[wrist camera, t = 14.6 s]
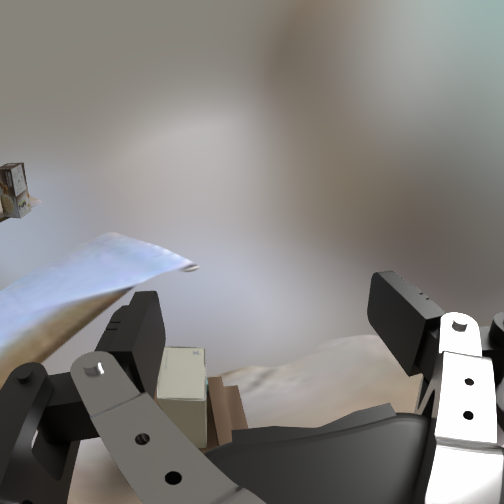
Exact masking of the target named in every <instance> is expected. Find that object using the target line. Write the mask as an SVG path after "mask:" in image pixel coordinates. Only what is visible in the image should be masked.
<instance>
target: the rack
mask: <svg viewBox="0 0 504 504" xmlns="http://www.w3.org/2000/svg"><path fill="white" fill-rule="evenodd" d="M157 385H158V381H157ZM154 401H155V402H156V404H157V405H158V406H159V404H158V400H157V386H156V391H155V396H154ZM206 416H207V447H206V448H198V449H199V450H200V451H201V452H202V453H203V454H204V453H205V452H207V451H209V450H211V449H213V448H215V447H217V446H220V445H223V444H225V443H229V442H232V433H231V430H239V429H248V425H247V422H246V418H245V414H244V410H243V406H242V402H241V398H240V394H239V390H238V386H237V385H236V386H227V387H223V382H222V377H211V378H206Z"/></svg>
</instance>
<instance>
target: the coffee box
mask: <svg viewBox="0 0 504 504" xmlns="http://www.w3.org/2000/svg"><path fill="white" fill-rule="evenodd" d="M0 199H1V204H2V208H3V213H4V217H12V218H22V217H23V216H25V215H26V214H27V213H29V212H30V211H31V205H30V200H29V194H28V189H27V183H26V176H25V170H24V163H9V164H5V165H3V166H1V167H0Z"/></svg>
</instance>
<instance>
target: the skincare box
mask: <svg viewBox="0 0 504 504" xmlns="http://www.w3.org/2000/svg"><path fill="white" fill-rule="evenodd" d="M157 400H158V404H159V407H160V408H161V409H162V411H163V412H164V413H165V414H166V415H167V416H168V417H169V419H170V420H171V421H172V422H173V423H174V424H175V425H176V426H177V427H178V428H179V430H180V431H181V432H182V433H183V434H184V435H185V436H186V437H187V438H188V439H189V440H190V441H191V442H192V443H193V444H194V445H195V446H196V447H197V448H206V447H207V416H206V349H205V348H204V347H179V346H178V347H176V346H175V347H174V346H165V347H164V352H163V356H162V361H161V366H160V371H159V376H158V385H157Z"/></svg>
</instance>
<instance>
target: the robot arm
mask: <svg viewBox="0 0 504 504" xmlns="http://www.w3.org/2000/svg"><path fill="white" fill-rule="evenodd" d="M367 315H368V320H369V322H370V324H371V326H372V327H373V328H374V330H375V331H376V332H377V334H378V335H379V336H380V338H381V339H382V340H383V342H384V343H385V345H386V346H387V347H388V349H389V350H390V351H391V353H392V354H393V355H394V357H395V358H396V360H397V361H398V362H399V364H400V365H401V367H402V368H403V369H404V371H405V372H406V374H407V375H408V376H409V377H410V376H413V375H416V374H420V373H422V374H423V377H422V379H421V382H420V387H419V392H418V397H417V402H416V407H415V411H414V414H413V413H395V411H394V409H393V408H392V406H391V404H390V403H386V404H383V405H379V406H375V407H372V408H368V409H364V410H359V411H355V412H353V413H351V414H349V415H347V416H344V417H342V418H340V419H338V420H336V421H333V422H331V423H329V424H327V425H324V426H322V427H318V428H301V427H280V426H270V427H261V428H251V429H239V430H231V433H232V442H229V443H225V444H223V445H220V446H217V447H215V448H213V449H211V450H209V451H207V452H205V453H204V454H203V453H202V452H201V451H200V450H199V449H198V448H197V447H196V446H195V445H194V444H193V443H192V442H191V441H190V440H189V439H188V438H187V437H186V436H185V435H184V434H183V433H182V432H181V431H180V430H179V428H178V427H177V426H176V425H175V424H174V423H173V422H172V421H171V420H170V419H169V417H168V416H167V415H166V414H165V413H164V412H163V411H162V409H161V408H160V407H159V406H158V405H157V404H156V402H155V401H154V396H155V391H156V386H157V380H158V376H159V371H160V366H161V361H162V356H163V352H164V347H165V340H166V337H165V327H164V323H163V318H162V313H161V308H160V304H159V298H158V294H157V292H156V291H141V292H135V294H134V296H133V298H132V300H131V302H130V304H129V305H128V306H127V305H126V306H122V307H121V308H119V309H118V310H117V311H116V312H115V313H114V314H113V315H112V317H111V319H110V322H109V323H108V325H107V327H106V330H105V331H104V333H103V335H102V337H101V339H100V341H99V343H98V345H97V347H96V349H95V351H94V352H90V353H87V354H84V355H83V356H81V357H79V358H78V359H76V360H75V361H74V363H73V364H72V366H71V369H70V372H67V373H61V374H55V375H48V374H47V371H46V369H45V368H44V366H43V365H41V364H40V363H35V362H31V363H26V364H23V365H20V366H19V367H17V368H16V369H14V370H13V371H12V372H11V374H10V375H9V377H8V378H7V380H6V382H5V383H4V385H3V387H2V389H1V390H0V504H67V499H68V494H69V489H70V484H71V479H72V475H73V470H74V466H75V461H76V457H77V453H78V449H79V445H80V441H81V440H84V439H91V438H97V437H101V439H102V441H103V443H104V444H105V446H106V448H107V449H108V451H109V453H110V455H111V456H112V458H113V459H114V461H115V463H116V464H117V466H118V468H119V469H120V471H121V472H122V474H123V475H124V477H125V478H126V480H127V481H128V483H129V484H130V486H131V487H132V489H133V490H134V491H135V493H136V494H137V496H138V497H139V498H140V500H141V501H142V503H143V504H504V448H503V447H501V446H502V445H503V444H504V312H502V313H497V314H496V315H495V316H494V319H493V321H492V324H491V326H486V327H478V325H477V323H476V322H475V321H474V320H473V319H472V318H470V317H469V316H467V315H464V314H460V313H448V314H447V313H445V312H444V311H443V310H442V309H441V308H440V307H439V306H438V305H436V304H435V303H434V302H433V301H432V300H429V298H428V297H427V296H426V295H425V294H423V293H422V292H421V291H420V290H419V289H418V288H417V287H416V286H414V285H412V284H410V283H407V282H406V281H404V280H403V279H402V278H401V277H400V276H399V275H397V274H396V273H395V272H393V271H385V272H376V273H374V274H373V276H372V279H371V286H370V294H369V301H368V309H367ZM36 429H37V430H38V434H37V437H36V440H35V442H34V445H33V448H32V447H31V445H32V440H33V437H34V434H35V432H36Z"/></svg>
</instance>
